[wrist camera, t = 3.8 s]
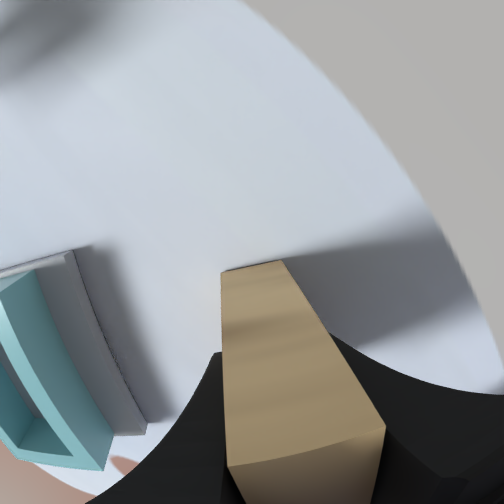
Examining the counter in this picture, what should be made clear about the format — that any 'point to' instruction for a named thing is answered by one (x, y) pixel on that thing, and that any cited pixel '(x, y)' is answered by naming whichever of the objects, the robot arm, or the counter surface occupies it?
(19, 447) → the stand
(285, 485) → the plank
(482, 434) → the robot arm
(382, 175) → the counter surface
